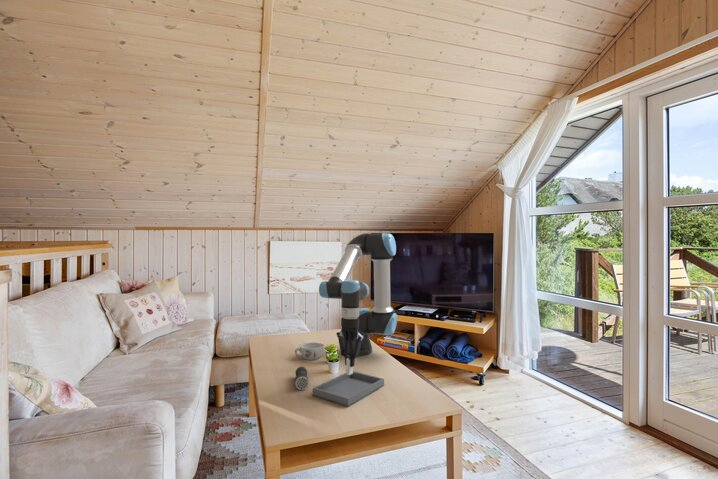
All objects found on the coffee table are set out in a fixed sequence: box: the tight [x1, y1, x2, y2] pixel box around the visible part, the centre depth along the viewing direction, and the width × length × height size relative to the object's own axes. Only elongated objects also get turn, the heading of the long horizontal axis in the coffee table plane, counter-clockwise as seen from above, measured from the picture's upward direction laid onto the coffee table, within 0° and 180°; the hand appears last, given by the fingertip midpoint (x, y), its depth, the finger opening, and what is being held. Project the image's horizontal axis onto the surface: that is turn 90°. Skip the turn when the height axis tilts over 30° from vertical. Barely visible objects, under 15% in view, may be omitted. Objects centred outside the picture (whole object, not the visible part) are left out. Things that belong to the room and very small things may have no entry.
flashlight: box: [295, 366, 310, 391], centre depth 166 cm, size 15×5×5 cm
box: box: [312, 370, 385, 408], centre depth 158 cm, size 26×18×3 cm
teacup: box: [294, 342, 325, 361], centre depth 198 cm, size 15×12×8 cm
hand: (349, 373), depth 158 cm, fingers closed
